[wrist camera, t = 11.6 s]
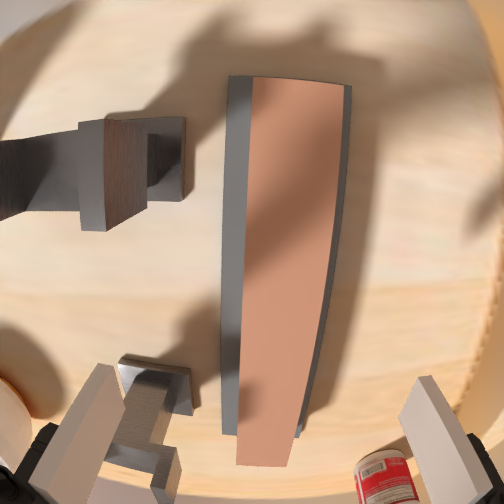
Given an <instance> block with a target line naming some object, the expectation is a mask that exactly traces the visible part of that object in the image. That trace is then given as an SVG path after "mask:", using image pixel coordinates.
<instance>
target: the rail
mask: <svg viewBox="0 0 504 504" xmlns="http://www.w3.org/2000/svg"><path fill="white" fill-rule="evenodd" d="M343 97H344V86H343V85H336V84H329V83H322V82H313V81H304V80H294V79H281V78H266V77H253V93H252V111H251V130H250V149H249V169H248V189H247V210H246V231H245V253H244V276H243V299H242V323H241V347H240V373H239V400H238V428H237V458H236V465H246V466H266V467H286V466H287V462H288V459H289V455H290V451H291V447H292V444H293V440H294V436H295V432H296V428H297V424H298V420H299V416H300V412H301V407H302V403H303V399H304V394H305V390H306V385H307V381H308V376H309V371H310V366H311V362H312V357H313V351H314V346H315V341H316V336H317V330H318V325H319V319H320V313H321V308H322V302H323V295H324V289H325V283H326V276H327V269H328V262H329V255H330V248H331V240H332V232H333V224H334V215H335V206H336V197H337V186H338V175H339V164H340V151H341V136H342V119H343Z"/></svg>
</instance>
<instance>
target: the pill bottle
mask: <svg viewBox="0 0 504 504" xmlns="http://www.w3.org/2000/svg"><path fill="white" fill-rule="evenodd" d="M354 478H355V483H356V488H357V493H358V498H359V504H420V501H419V498H418V495H417V492H416V489H415V486H414V483H413V480H412V477H411V474H410V471H409V468H408V465H407V462H406V459H405V457H404V454H403V453H402V452H401V451H399V450H394V449H390V450H383V451H379V452H376V453H373V454H371V455H369V456H367V457H365V458H364V459H362V460H361V461H360V462H359V463H358V464H357V465H356V466H355V468H354Z"/></svg>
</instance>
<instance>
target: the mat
mask: <svg viewBox="0 0 504 504" xmlns="http://www.w3.org/2000/svg"><path fill="white" fill-rule="evenodd" d="M253 77H261V76H229V84H228V102H227V120H226V141H225V164H224V190H223V223H222V270H221V403H222V434H225V435H236V436H237V428H238V400H239V373H240V347H241V323H242V299H243V276H244V253H245V231H246V210H247V189H248V169H249V149H250V130H251V111H252V93H253ZM266 78H278V77H266ZM281 79H291V78H281ZM294 80H302V79H294ZM304 81H311V80H304ZM313 82H320V81H313ZM322 83H328V82H322ZM329 84H335V83H329ZM336 85H342V84H336ZM343 86H344V97H343V119H342V136H341V151H340V164H339V175H338V186H337V197H336V206H335V215H334V224H333V232H332V240H331V248H330V255H329V262H328V269H327V276H326V283H325V289H324V295H323V302H322V308H321V313H320V319H319V325H318V330H317V336H316V341H315V346H314V351H313V357H312V362H311V366H310V371H309V376H308V381H307V385H306V390H305V394H304V399H303V403H302V407H301V412H300V416H299V420H298V424H297V428H296V432H295V436H294V438H299V436H300V432H301V429H302V425H303V421H304V417H305V413H306V409H307V405H308V401H309V397H310V393H311V389H312V385H313V380H314V376H315V372H316V367H317V363H318V358H319V353H320V348H321V344H322V339H323V333H324V328H325V323H326V318H327V312H328V307H329V301H330V295H331V289H332V283H333V277H334V271H335V264H336V257H337V250H338V243H339V236H340V228H341V220H342V211H343V202H344V193H345V183H346V172H347V160H348V147H349V132H350V114H351V88H352V86H348V85H343Z"/></svg>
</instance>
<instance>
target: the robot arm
mask: <svg viewBox="0 0 504 504" xmlns="http://www.w3.org/2000/svg"><path fill="white" fill-rule="evenodd" d="M125 409H126V408H125V405H124V402H123V399H122V395H121V392H120V388H119V385H118V381H117V378H116V374H115V370H114V366H110V365H105V364H100V363H98V364H97V365H96V367H95V369H94V370H93V372H92V373H91V375H90V376H89V378H88V380H87V381H86V383H85V384H84V386H83V387H82V389H81V391H80V392H79V394H78V395H77V397H76V399H75V400H74V402H73V404H72V405H71V407H70V409H69V410H68V412H67V413H66V415H65V417H64V418H63V420H62V422H61V424H60V425H56V424H53V423H51V422H50V423H48V424H47V425H46V426H44V427H43V428H42V429H41V430H40V431H39V433H38V435H37V436H36V438H35V441H33V443H32V444H31V446H30V447H31V448H29V449H28V451H27V453H26V455H25V456H24V458H23V460H22V461H21V463H20V465H19V467H18V468H17V470H16V472H15V473H14V475H13V474H12V472H11V471H10V470H9V469H8V468H7V467H5V466H3V465H0V504H86V503H87V500H88V498H89V495H90V493H91V490H92V488H93V485H94V482H95V480H96V478H97V475H98V473H99V470H100V468H101V465H102V463H103V460H104V458H105V456H106V453H107V451H108V448H109V446H110V444H111V441H112V439H113V437H114V434H115V432H116V430H117V427H118V425H119V423H120V421H121V418H122V416H123V414H124V411H125ZM398 419H399V421H400V423H401V426H402V428H403V431H404V433H405V435H406V438H407V440H408V443H409V445H410V448H411V450H412V453H413V455H414V458H415V460H416V463H417V465H418V468H419V471H420V473H421V476H422V479H423V481H424V484H425V487H426V489H427V492H428V495H429V498H430V501H431V503H432V504H504V483H503V481H502V480H501V478H500V476H499V474H498V472H497V470H496V468H495V466H494V464H493V462H492V461H491V459H490V458H489V455H488V453H487V451H485V448H484V446H483V444H482V442H481V441H480V439H479V438H477V437H476V436H475V435H474V434H473V433H470V434H467V435H466V433H465V432H464V430H463V428H462V426H461V425H460V423H459V421H458V419H457V418H456V416H455V414H454V412H453V411H452V409H451V407H450V406H449V404H448V402H447V401H446V399H445V397H444V396H443V394H442V392H441V391H440V389H439V387H438V386H437V384H436V382H435V381H434V379H433V378H432V376H431V375H430V376H422V377H417V380H416V382H415V384H414V386H413V388H412V391H411V393H410V395H409V397H408V399H407V401H406V403H405V405H404V407H403V409H402V411H401V413H400V415H399V417H398Z"/></svg>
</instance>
